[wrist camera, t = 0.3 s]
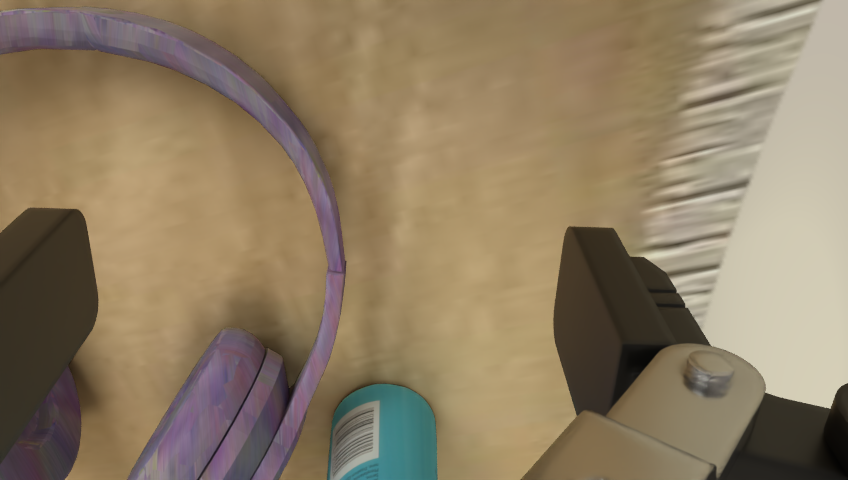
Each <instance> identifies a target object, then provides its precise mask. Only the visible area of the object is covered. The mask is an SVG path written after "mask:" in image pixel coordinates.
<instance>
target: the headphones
mask: <svg viewBox="0 0 848 480" xmlns="http://www.w3.org/2000/svg"><path fill="white" fill-rule="evenodd" d="M33 49H65V50H99V51H101V52H106V53H111V54H115V55H120V56H125V57H130V58H134V59H139V60H144V61H148V62H152V63H155V64H158V65H161V66H164V67H167V68H170V69H173V70H176V71H178V72H180V73H182V74H185V75H187V76H189V77H191V78H193V79H195V80H198V81H200V82H202V83H204V84H206V85H208V86H209V87H211V88H213V89H214V90H216V91H218V92H219V93H221V94H222V95H224V96H226V97H227V98H229V99H231V100H232V101H234V102H235V103H237V104H238V105H239V106H240V107H242V108H243V109H244V110H245V111H247V112H248V113H249V114H250V115H251V116H253V117H254V118H255V119H256V120H257V121H259V122H260V123H261V124H262V125H263V127H264V128H265V129H266V130H267V131H268V132H269V133H270V134H271V135H272V136H273V137H274V138H275V139H276V140H277V142H278V143H279V144H280V145H281V146H282V147H283V148H284V150H285V151H286V153H287V154H288V156H289V157H290V158H291V160H292V161H293V163H294V164H295V166H296V168H297V170H298V172H299V173H300V175H301V177H302V179H303V181H304V183H305V185H306V187H307V190H308V192H309V195H310V197H311V200H312V202H313V205H314V207H315V210H316V213H317V217H318V221H319V224H320V228H321V232H322V236H323V240H324V245H325V250H326V255H327V260H328V264H329V266H328V270H327V274H326V297H325V305H324V312H323V317H322V320H321V324H320V328H319V331H318V335H317V337H316V339H315V342H314V344H313V347H312V349H311V351H310V354H309V356H308V358H307V361H306V363H305V365H304V367H303V369H302V371H301V373H300V375H299V377H298V379H297V381H296V382H295V384H294V385H293V386H292V387H290V388H289V387H288V382H287V377H286V372H285V367H284V362H283V357H282V356H281V355H279V354H277V353H276V352H274V351H272V350H270V349H269V348H265V349H264V347H263V345H262V344H261V342H260V341H259V340H258V338H256V337H255V336H254V335H253V334H251V333H250V332H248V331H246V330H243V329H239V328H230V327H227V328H224V329H222V330H221V331H220V332H219V334H218V335H217V336H216V337H215V339H214V340H213V341H212V342H211V344H210V345H209V347H208V348H207V350H206V351H205V353H204V354H203V356H202V357H201V358H200V360H199V361H198V363H197V364H196V366H195V367H194V369H193V371H192V372H191V374H190V375H189V377H188V378H187V380H186V381H185V383H184V384H183V386H182V388H181V389H180V391H179V392H178V394H177V396H176V397H175V399H174V400H173V402H172V404H171V405H170V407H169V409H168V410H167V412H166V413H165V415H164V417H163V418H162V420H161V421H160V423H159V425H158V426H157V428H156V430H155V431H154V433H153V435H152V436H151V438H150V440H149V441H148V443H147V445H146V446H145V448H144V450H143V452H142V453H141V455H140V457H139V458H138V460H137V462H136V464H135V466H134V467H133V469H132V471H131V473H130V475H129V476H128V478H127V480H278V479H279V478H280V476H281V474H282V472H283V470H284V468H285V466H286V465H287V463H288V461H289V459H290V457H291V455H292V453H293V450H294V448H295V446H296V444H297V442H298V439H299V437H300V435H301V432H302V429H303V425H304V422H305V418H306V414H307V409H308V406H309V403H310V401H311V399H312V397H313V395H314V393H315V390H316V388H317V386H318V384H319V382H320V379H321V377H322V375H323V373H324V371H325V368H326V366H327V363H328V361H329V358H330V355H331V352H332V348H333V345H334V341H335V338H336V333H337V328H338V323H339V319H340V314H341V307H342V300H343V293H344V285H345V273H346V261H345V255H344V247H343V239H342V231H341V223H340V215H339V210H338V206H337V201H336V197H335V192H334V189H333V185H332V182H331V179H330V176H329V174H328V171H327V169H326V167H325V164H324V162H323V160H322V158H321V156H320V154H319V151H318V149H317V147H316V145H315V144H314V142H313V140H312V138H311V136H310V135H309V133H308V131H307V130H306V128H305V127H304V126H303V124H302V123H301V122H300V120H299V119H298V118H297V117H296V115H295V114H294V113H293V112H292V110H291V109H290V108H289V107H288V106H287V104H286V103H285V102H284V101H283V100H282V98H281V97H280V96H279V95H278V94H277V93H276V92H275V90H274V89H273V88H272V87H271V86H270V85H269V84H268V83H267V82H266V81H265V80H264V79H263V78H262V77H261V76H260V75H259V74H258V73H257V72H256V71H254V70H253V69H252V68H250V67H249V66H248V65H247V64H245V63H244V62H243V61H242V60H240V59H239V58H238V57H236V56H235V55H234V54H232V53H231V52H229V51H227V50H226V49H224V48H223V47H221V46H219V45H218V44H216V43H215V42H213V41H211V40H209V39H207V38H205V37H203V36H201V35H199V34H197V33H195V32H193V31H192V30H189V29H187V28H184V27H181V26H179V25H176V24H174V23H171V22H168V21H166V20H162V19H158V18H154V17H150V16H146V15H142V14H138V13H133V12H127V11H120V10H114V9H107V8H96V7H51V8H28V9H13V10H5V11H0V54H6V53H13V52H20V51H26V50H33ZM80 437H81V411H80V403H79V398H78V394H77V389H76V386H75V382H74V379H73V376H72V374H71V371H70V369H69V367H68V366H67V367H66V369H65V370H64V372H63V373H62V375H61V376H60V378H59V379H58V381H57V382H56V384H55V385H54V386H53V388H52V389H51V391H50V392H49V394H48V395H47V397H46V398H45V400H44V401H43V403H42V404H41V406H40V407H39V409H38V410H37V411H36V413H35V414H34V416H33V417H32V419H31V420H30V422H29V423H28V425H27V426H26V428H25V429H24V431H23V432H22V434H21V435H20V436H19V438H18V439H17V441H16V442H15V444H14V445H13V447H12V448H11V450H10V451H9V453H8V454H7V456H6V457H5V459H4V460H3V461H2V463H1V464H0V480H65V478H66V477H67V476H68V474H69V473H70V471H71V469H72V467H73V465H74V462H75V460H76V458H77V454H78V450H79V445H80Z"/></svg>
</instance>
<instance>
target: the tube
mask: <svg viewBox="0 0 848 480" xmlns="http://www.w3.org/2000/svg"><path fill="white" fill-rule="evenodd" d="M327 480H438V477H437V438H436V422H435V417H434V414H433V411H432V409H431V408H430V406H429V405H428V403H427V402H426V401H425V399H424V398H422V397H421V396H420V395H418V394H417V393H416V392H414V391H412V390H410V389H408V388H406V387H402V386H398V385H392V384H374V385H370V386H366V387H364V388H361V389H359V390H357V391H355V392H353V393H351V394H350V395H349V396H347V397H346V398H345V399H343V401H342V402H341V403H340V404H339V406H338V407H337V409H336V411H335V413H334V416H333V420H332V428H331V438H330V450H329V461H328V474H327Z"/></svg>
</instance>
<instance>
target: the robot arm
mask: <svg viewBox="0 0 848 480" xmlns="http://www.w3.org/2000/svg"><path fill="white" fill-rule="evenodd" d="M97 312H98V291H97V285H96V279H95V273H94V267H93V261H92V255H91V249H90V243H89V237H88V231H87V226H86V221H85V218H84V216H83V214H82V213H81V212H80V211H79V210H77V209H54V208H28V209H26V210H25V211H24V212H23V213H22V214H21V215H20V216H18V217H17V218H16V219H15V220H14V221H13V222H12V223H11V224H10V225H9V226H7V227H6V228H5V229H4V230H3V231H2V232H1V233H0V464H1V463H2V461H3V460H4V459H5V457H6V456H7V454H8V453H9V451H10V450H11V448H12V447H13V445H14V444H15V442H16V441H17V439H18V438H19V436H20V435H21V434H22V432H23V431H24V429H25V428H26V426H27V425H28V423H29V422H30V420H31V419H32V417H33V416H34V414H35V413H36V411H37V410H38V409H39V407H40V406H41V404H42V403H43V401H44V400H45V398H46V397H47V395H48V394H49V392H50V391H51V389H52V388H53V386H54V385H55V384H56V382H57V381H58V379H59V378H60V376H61V375H62V373H63V372H64V370H65V369H66V367H67V366H68V364H69V363H70V361H71V360H72V359H73V357H74V356H75V354H76V353H77V351H78V350H79V348H80V347H81V345H82V344H83V342H84V341H85V339H86V338H87V336H88V335H89V334H90V332H91V330H92V329H93V326H94V324H95V321H96V317H97ZM554 338H555V344H556V347H557V351H558V354H559V357H560V361H561V364H562V367H563V371H564V374H565V377H566V381H567V384H568V387H569V391H570V394H571V397H572V401H573V404H574V408H575V411H576V414H577V417H576V418H575V419H574V420H573V421H572V423H571V424H570V425H569V426H568V427H567V428H566V429H565V430H564V432H563V433H562V434H561V435H560V436H559V437H558V438H557V439H556V441H555V442H554V443H553V444H552V445H551V446H550V447H549V448H548V450H547V451H546V452H545V453H544V454H543V455H542V456H541V457H540V459H539V460H538V461H537V462H536V463H535V464H534V465H533V466H532V468H531V469H530V470H529V471H528V472H527V473H526V474H525V475H524V477H523V478H522V479H521V480H848V383H847V384H845V385H843V386H841V387H840V388H839V389H838V391H837V393H836V395H835V398H834V401H833V404H832V406H831V409H829V408H824V407H820V406H815V405H811V404H806V403H802V402H797V401H792V400H788V399H784V398H780V397H776V396H773V395H771V394H767V393H765V390H766V387H765V382H764V379H763V377H762V376H761V374H760V373H759V372H758V371H757V369H756V368H755V367H753V366H752V365H751V364H750V363H748V362H747V361H745V360H744V359H742V358H740V357H739V356H737V355H735V354H733V353H730V352H728V351H726V350H722V349H719V348H716V347H712V346H711V345H710V344H709V342H708V340H707V339H706V337H705V335H704V334H703V332H702V331H701V329H700V327H699V326H698V324H697V322H696V321H695V319H694V318H693V316H692V314H691V313H690V311H689V310H688V308H685V303H684V301H683V300H682V298H681V297H680V295H679V293H676V288H675V287H674V285H673V284H672V282H671V280H670V279H669V277H668V276H667V274H666V272H664V271H663V270H661V269H660V268H658V267H657V266H656V265H654V264H653V263H651V262H650V261H649V260H647V259H646V258H644V257H629V255H628V253H627V251H626V249H625V247H624V246H623V244H622V242H621V240H620V238H619V237H618V235H617V233H616V231H615V230H614V229H613V228H599V227H568V228H567V230H566V233H565V236H564V241H563V248H562V256H561V263H560V270H559V277H558V284H557V292H556V299H555V306H554Z"/></svg>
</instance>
